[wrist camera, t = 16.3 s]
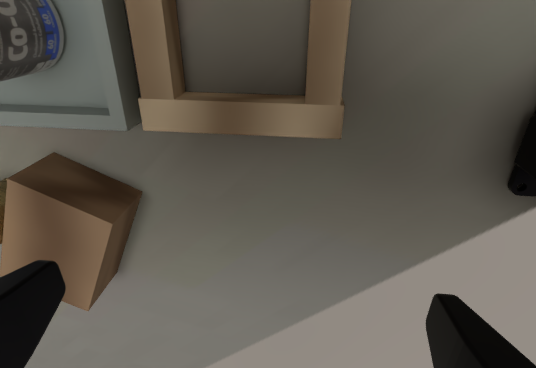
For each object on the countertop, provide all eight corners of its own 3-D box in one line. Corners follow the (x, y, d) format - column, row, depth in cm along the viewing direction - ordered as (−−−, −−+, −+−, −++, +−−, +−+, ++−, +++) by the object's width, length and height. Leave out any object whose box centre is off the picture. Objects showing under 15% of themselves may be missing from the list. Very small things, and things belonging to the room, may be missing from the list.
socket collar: (363, -105, 14) (369, -119, 13) (338, 127, 19) (341, 139, 17) (123, -99, 15) (101, -111, 14) (156, 120, 20) (143, 130, 18)
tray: (106, -98, 15) (79, -112, 13) (143, 119, 20) (127, 131, 18) (-112, -93, 16) (-163, -104, 15) (-28, 112, 21) (-59, 123, 19)
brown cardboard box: (143, 189, 23) (112, 224, 19) (118, 270, 26) (88, 311, 23) (56, 150, 22) (7, 178, 18) (42, 238, 26) (-1, 275, 22)
